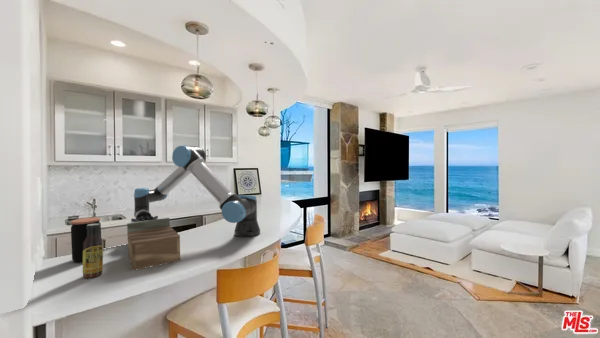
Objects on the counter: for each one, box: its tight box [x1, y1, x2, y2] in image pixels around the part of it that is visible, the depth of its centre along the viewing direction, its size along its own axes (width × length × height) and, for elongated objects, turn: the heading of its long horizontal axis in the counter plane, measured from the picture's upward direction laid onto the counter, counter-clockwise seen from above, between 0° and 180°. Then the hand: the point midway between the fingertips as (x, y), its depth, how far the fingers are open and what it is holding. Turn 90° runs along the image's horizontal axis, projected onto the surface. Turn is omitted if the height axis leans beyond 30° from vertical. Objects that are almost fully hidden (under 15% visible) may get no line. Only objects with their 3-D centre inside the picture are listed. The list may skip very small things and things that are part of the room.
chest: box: [127, 235, 181, 271], centre depth 123 cm, size 22×18×10 cm
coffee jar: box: [70, 217, 102, 264], centre depth 123 cm, size 11×11×18 cm
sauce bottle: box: [82, 224, 104, 279], centre depth 104 cm, size 6×6×20 cm
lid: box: [126, 217, 181, 246], centre depth 123 cm, size 25×18×8 cm
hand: (148, 225), depth 133 cm, fingers closed
